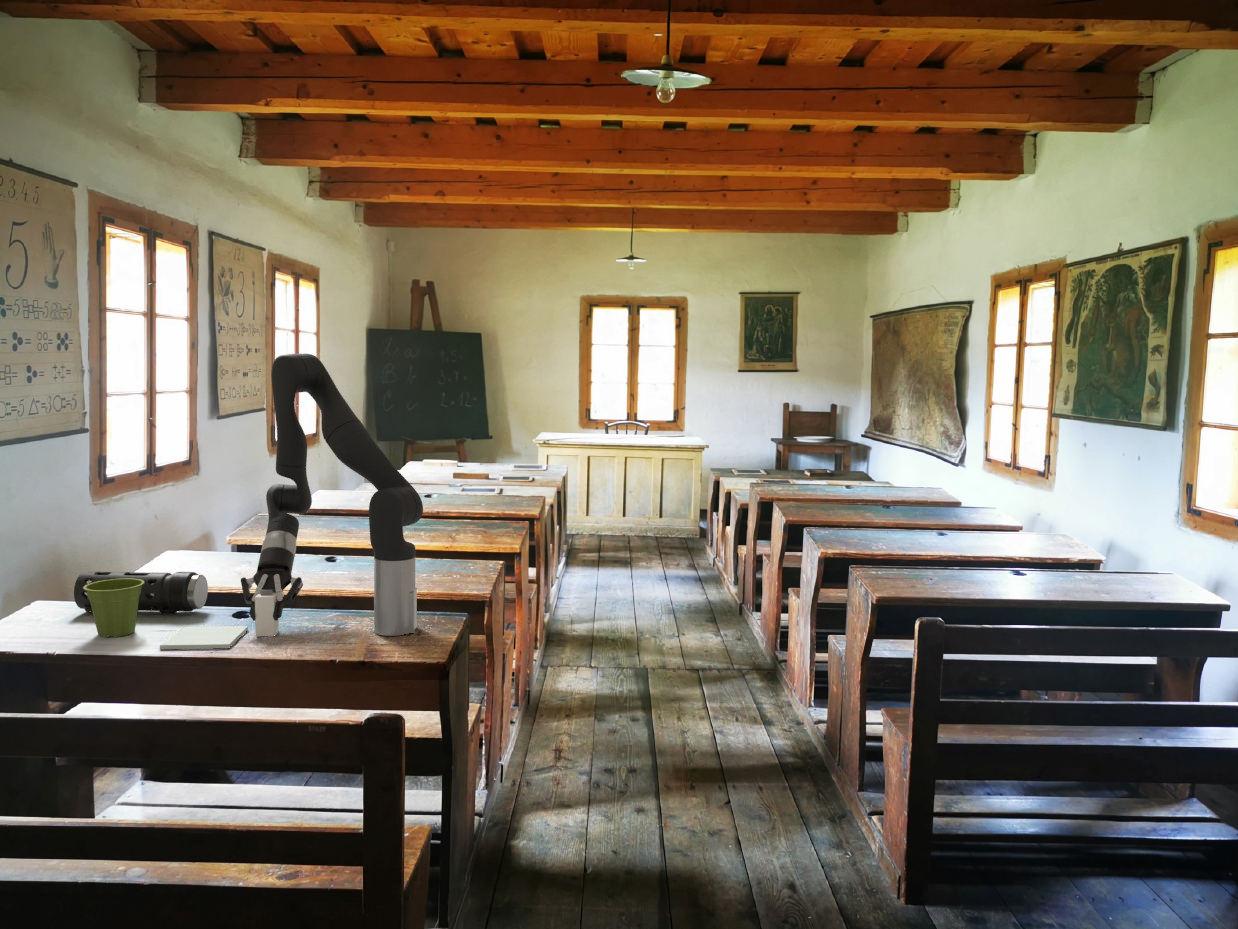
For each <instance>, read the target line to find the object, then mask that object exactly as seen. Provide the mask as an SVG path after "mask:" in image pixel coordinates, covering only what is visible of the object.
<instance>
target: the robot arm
mask: <svg viewBox="0 0 1238 929" xmlns="http://www.w3.org/2000/svg"><path fill="white" fill-rule="evenodd" d="M270 373H271V374H270V376H271V388H272V389H271V390H272V397H273V406H274V408H273V409H274V414H275V416H274V417H275V424H276V451H275V452H276V454H275V455H276V456H275V472H276V474H277V475H278V476H281V477H284V478H287V479H288V480H291V481H293V483H295V484H285V483H283V484H282V483H277V484H276V483H275V484H272V485H271V486H270V487H269V488H268V489H267V491H266V495H265V496H266V497H265V498H266V507H267V513H268V520H267V521H268V523H267V528H266V532H265V537H264V540H263V543H262V546H261V551H260V555H259V560H258V564H257V567H256V572H255V574H254V575H253V577H250V578H246V577H242V578H240V583H241V589H242V594H243V598H244V602H245V603H246V605H248V606H249V605H250V609H249V616H250V618H251V619H252V622H253V621H255V619H256V616H255V597H256V596H257V595H258V594H260V593H261V590H272V591H273V593H277V602H276V604H275V609H274V612H273V618H274V620H278V618H279V619H281V617H282V614H283V611H284V606H285V605H292V604H293V603H294V602H295V600H296V599H297V596H298V595H299V592H300V591H301V589H302V588H303V586H304V582H303V580H302V577H300V576H298V577H292V576H293V575H292V573H293V566H294V562H295V561H294V560H295V557H296V551H297V539H298V534H299V530H300V521H299V519H298V518H297V517H295V515H304V514H306V513H307V512H309V510H310V509H311V506H312V503H313V500H312V493H311V489H310V486H309V481H308V476H307V461H308V460H307V459H308V441H307V440H308V439H307V436H306V434H305V432H304V430H303V426H302V425H301V423H300V421H299V419H298V416H297V412H296V404H295V402H296V401H295V400H296V394H297V393H307V394H308V395H310V396H311V398H312V399H313V400H314V402H315V403H316V405H317V406H318V408H319V410H320V413H321V415H320V417H321V434H322V437H323V440H324V441H325V443H326V444H327V445H328V447H329V448H330V449H331V451H332V452H333V454H334V455H335V457H336V458H337V459H338V460H339V461H340V463H342V464H343V465H345V466H346V467H347V468H349V469H350V470H351V471H353V472H354V473H356V474H358V475H360V476H361V477H362V478H364V479H365V480H367V481H368V482H369V483H371V485H373V487H375V489H376V490H377V491H375V492H374V493H373V494H372V496H371V498H370V501H369V505H368V523H369V524H368V525H369V540H370V545H371V547H372V548H371V549H372V550H373V606H374V607H373V614H374V616H373V626H374V628H373V629H374V633H375V634H376V635H380V636H388V637H393V636H394V637H396V636H398V637H399V636H404V634H406V635H410V634H409V633H414V634H415V632H416V630H415V629H417V627H416V626H417V625H418V624H417V623H418V622H417V621H418V620H417V619H418V617H417V615H418V614H417V612H418V611H417V608H418V607H417V603H418V601H417V594H418V593H417V587H416V546H415V544H414V543H412V542H410V541H406V539H405V536H404V527H407V526H412V525H414V524H417V523H418V522H419V521H420V520H421V518H422V517H423V513H424V504H423V500H422V499H421V496H420V494H419V493H418V491H417V490H416V488H415V487H414V486H412V484H411V482H409V481H408V480H407V479H406V477H404V476H403V474H401V472H400V471H399V470H398V469H397V468H396V467H395V466H394V465H393V463H392V462H391V460H390V459H389V458H388V456H387V455H386V454H385V453H384V452H383V450H382V449H381V448H380V446H379V445H378V443H377V442H376V440H375V439H374V438H373V436H372V435H371V434H370V432H369V431H368V430H367V428H366V426H365V425H364V424H363V423H362V421H361V420H360V419H359V418H358V417H357V415H356V413H355V412H354V411H353V410H352V408H351V407H350V405H349V404H348V402H347V401H346V399H345V398H344V396H343V395H342V394H341V392H340V391H339V389H338V388H337V386H336V383H335V382H334V380H333V379H332V377H331V375H330V373H329V371H328V370H327V368H326V366H325V365H324V363H323V362H322V361H321V360H320V359H319V358H318V357H317V355H314V354H311V353H284V354H280V355H278V356H277V357H276V358H275V359H274V360H273V362H272V366H271V372H270ZM292 514H294V515H292ZM253 584H255V585H256V588H255V591H254V594H253V596H252V595H251V589H252V588H253ZM290 584H291V585H290ZM289 585H290V586H291V587H290V588H289V590H288V592H286V595H284V590H285V589H286V588H287V587H288V586H289Z"/></svg>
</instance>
